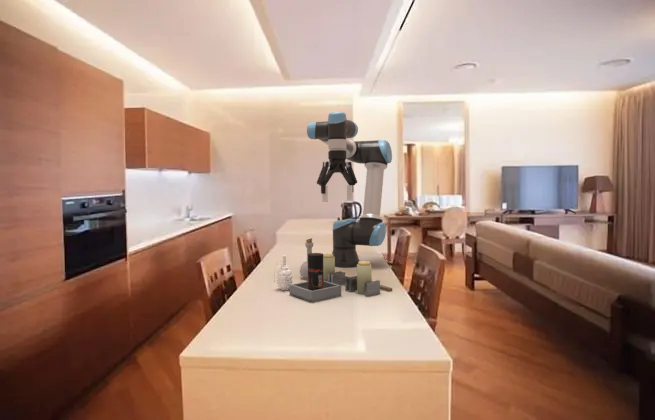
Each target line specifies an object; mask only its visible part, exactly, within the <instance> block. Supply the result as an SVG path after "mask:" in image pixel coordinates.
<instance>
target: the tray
mask: <svg viewBox="0 0 655 420" xmlns="http://www.w3.org/2000/svg"><path fill="white" fill-rule="evenodd" d="M289 296H291V297H294V298H296V299H300V300H302V299H303V301H305V300H306V302H308V301H309V303H311V302H313V303H317V302H320V301H321V300H322V301H326V300H330V299H334V298H338V297H342V285H337V284H334V283H330V282H327V281H324V288H323V289H318V290H314V291H311V290H308V280H306V281H302V282H297V283H292V284H291V285H290V288H289ZM316 301H317V302H316ZM322 301H321V302H322Z"/></svg>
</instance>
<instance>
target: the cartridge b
mask: <svg viewBox="0 0 655 420" xmlns="http://www.w3.org/2000/svg"><path fill="white" fill-rule="evenodd" d="M356 276H357V291H356V293H357V294H359V295H364V296H365V283H367V282H372V264H371V262H370V261H368V260H359V262H358V264H357V266H356Z"/></svg>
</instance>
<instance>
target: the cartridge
mask: <svg viewBox="0 0 655 420" xmlns="http://www.w3.org/2000/svg"><path fill="white" fill-rule="evenodd" d="M322 254H323V276H324V281H327V282H328V273H334V272H336V267H335V257H334V256H333V254H332V253H322Z"/></svg>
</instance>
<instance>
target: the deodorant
mask: <svg viewBox="0 0 655 420" xmlns="http://www.w3.org/2000/svg"><path fill="white" fill-rule="evenodd" d="M323 254H324V253H321V252H312V253H309V254H308V280H307V281H308V290H311V291H314V290H318V289H323V288H324V276H323Z"/></svg>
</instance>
